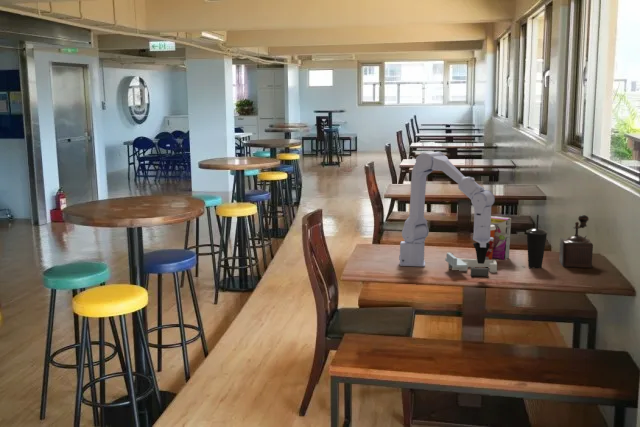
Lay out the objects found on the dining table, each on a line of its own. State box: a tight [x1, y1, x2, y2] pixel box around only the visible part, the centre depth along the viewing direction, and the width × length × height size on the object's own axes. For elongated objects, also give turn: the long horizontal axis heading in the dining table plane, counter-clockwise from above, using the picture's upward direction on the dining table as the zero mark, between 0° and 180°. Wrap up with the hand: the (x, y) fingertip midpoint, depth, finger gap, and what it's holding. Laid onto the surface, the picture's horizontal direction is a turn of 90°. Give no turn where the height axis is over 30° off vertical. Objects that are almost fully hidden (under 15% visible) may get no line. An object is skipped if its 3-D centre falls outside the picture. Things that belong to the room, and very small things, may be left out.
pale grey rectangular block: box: [447, 252, 498, 273], centre depth 250 cm, size 17×8×6 cm, turn 81°
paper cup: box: [476, 224, 496, 260], centre depth 262 cm, size 8×8×14 cm
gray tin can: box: [470, 267, 490, 277], centre depth 240 cm, size 6×3×3 cm
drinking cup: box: [525, 214, 548, 269], centre depth 251 cm, size 8×8×20 cm
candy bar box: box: [491, 215, 512, 261], centre depth 266 cm, size 11×5×16 cm, turn 56°
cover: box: [444, 252, 468, 268], centre depth 244 cm, size 11×5×3 cm, turn 6°
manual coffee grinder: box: [558, 214, 594, 269], centre depth 257 cm, size 16×11×18 cm
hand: (480, 263), depth 237 cm, fingers closed
